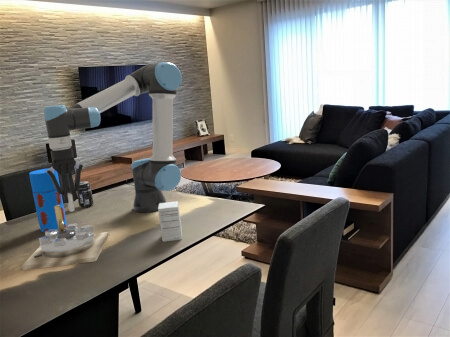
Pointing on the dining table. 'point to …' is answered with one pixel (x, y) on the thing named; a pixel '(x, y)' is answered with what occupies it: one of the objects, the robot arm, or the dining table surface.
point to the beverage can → (85, 195)
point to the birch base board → (85, 256)
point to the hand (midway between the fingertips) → (71, 210)
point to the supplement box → (170, 221)
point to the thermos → (46, 199)
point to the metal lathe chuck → (66, 238)
